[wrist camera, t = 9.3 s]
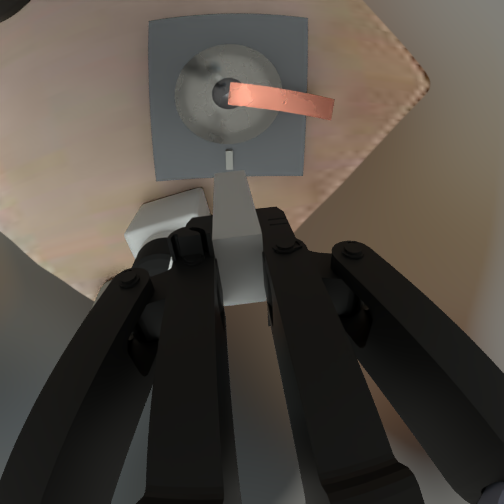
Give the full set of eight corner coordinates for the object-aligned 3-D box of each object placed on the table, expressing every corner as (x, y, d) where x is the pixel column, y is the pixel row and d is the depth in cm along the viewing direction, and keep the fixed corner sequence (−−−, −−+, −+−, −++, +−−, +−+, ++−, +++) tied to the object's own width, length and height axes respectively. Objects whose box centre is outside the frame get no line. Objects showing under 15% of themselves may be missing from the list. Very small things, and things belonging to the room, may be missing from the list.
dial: (174, 137, 27) (164, 146, 23) (183, 44, 22) (175, 35, 18) (307, 150, 29) (322, 162, 25) (322, 62, 24) (341, 58, 20)
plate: (152, 24, 21) (146, 19, 20) (303, 21, 23) (309, 16, 21) (159, 177, 31) (154, 183, 29) (299, 172, 32) (304, 177, 30)
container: (163, 257, 36) (143, 330, 25) (141, 204, 32) (104, 265, 21) (220, 242, 36) (221, 315, 25) (202, 185, 32) (191, 241, 21)
